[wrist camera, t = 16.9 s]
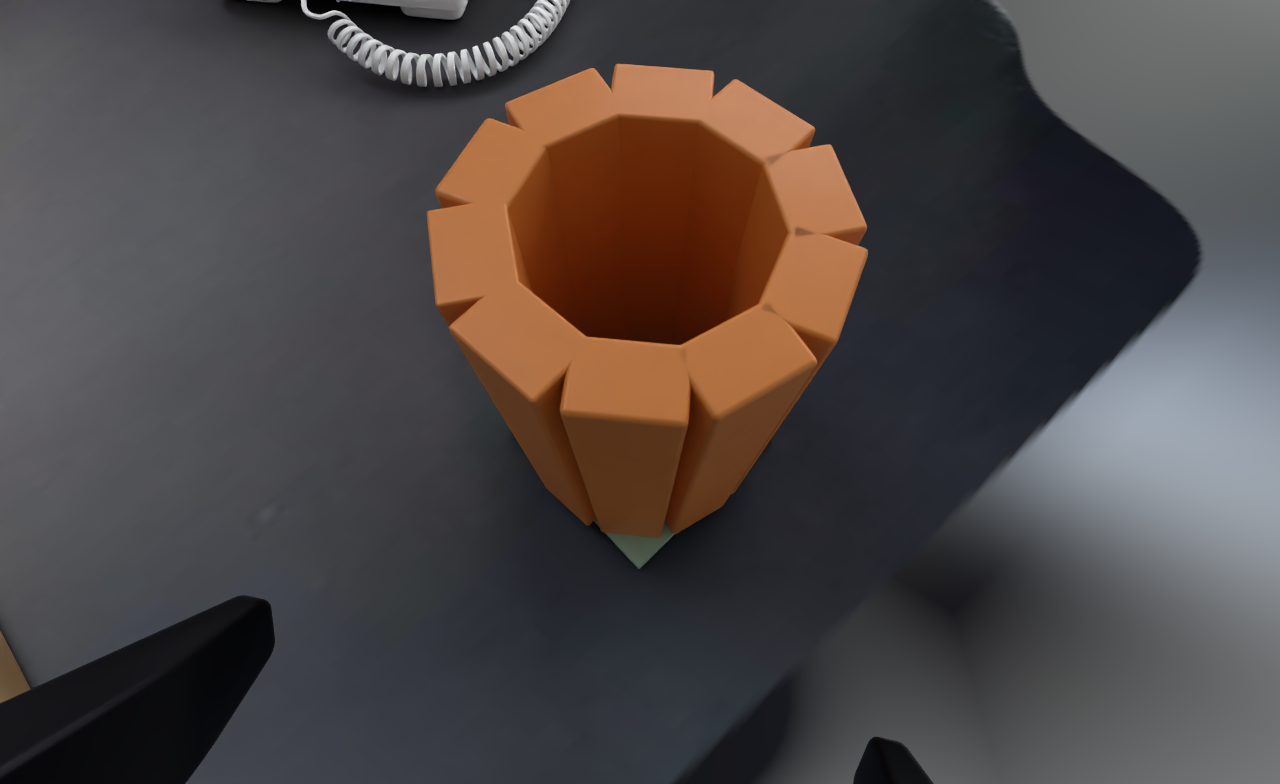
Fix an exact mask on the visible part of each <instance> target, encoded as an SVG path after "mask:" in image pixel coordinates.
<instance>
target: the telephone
mask: <svg viewBox="0 0 1280 784" xmlns="http://www.w3.org/2000/svg"><path fill="white" fill-rule="evenodd" d="M248 1H258V2H270V3H277V2H280V1H282V0H248ZM336 1H337V2H340V1H349V2H360V3H370V4H381V5H391V6H400V7H401V10H402V11H403V13H404V14H406V15H408V16H415V17H425V18H436V19H448V20H455V19H459V18H460V17H461V16H462V15H463V13H464V11H465V8H466V5H467V3H468V0H336ZM551 1H552V2H553V3H554V4H555V6H553V5H551V4H550V3H549V2H548V1H547V0H538V1H537V2H536V3H535V5H534V7H533V8H532V9H531V10H530V11H529V13H527V14H526V15H525V17H524V19H521V20H520V21H519V22H518V24H517V25H518V26H516V25H514V26H513V27H512V28H510V33H509V32H507V31H506V32H504V33H503V34H502V41H503V43H504V44H503V43H502V41H501V40H500V38H498V37H496V38H494V39H493V45H494V47H495V49H496V51H497V53H498V55H499V56H500V58H501V59H502V66H501V65H500V64H499V63H498V62H497V60H496V59H495V56H494V53H493V50H492V48H491V46H490V44H489V42H485V43H483V47H484V49H485V52H486V54H487V56H488V59H489V64H490V69H489V67H488V66H487V64H486V63H485V61H484V59H483V57H482V55H481V53H480V51H479V48H478V46H474V47H472V49H473V53H474V58H475V62H476V67H475V65H474V63H473V61H472V59H471V57H470V55H469V53H468V51H467V49H464V50H461V61H460V59H459V57H458V55H457V54H456V53H455V52H449V53H448V55H447V58H446V57H445V55H444V54H442V53H440V54H435V55H434V58H433V57H432V56H431V55H429V54H422V55H421V56H419V55H418V54H416V53H408V54H407V53H406V52H404V51H402V50H399V49H396V50H394V48H392V47H390V46H388V45H383V43H381V42H380V41H378V40H376V39H373V38H372V37H371V36H369V35H368V34H366V33H364V32H363V31H362V30H361V29H360V28H358V27H357V26H356V24H354V22H352V21H351V20H350V19H349V18H348V17H347V16H346V15H345V14H344V13H342V12H340V11H336V10H332V11H329V12H327V13H324V14H321V15H319V14H314V13H311V12H310V11H309V10H308V9H307V5H306V0H301V7H302V10H303V12H304V13H305V14H306V15H307V16H309V17H311V18H314V19H319V20H321V19H326V18H328V17H331V16H333V15H338V16H341V17H343V18H345V19H341V20H338V21H336V22H334V23H333V24H332V25H331V26H330V28H329V31H328V38H329V39H330V41H331V42H332V43H333V44H335V45H337V47H338V49H339V50H341V51H342V52H343V53H347V56H348V57H349V58H351V59H352V60H353V61H359V64H360V65H361V66H363V67H364V68H366V69H367V68H370V67H371V70H372V72H374V73H376V74H378V75H382V74H383V73H384V71H385V75H386V78H388V79H390V80H393V81H395V80H396V79H397V77H398V73H399V60H398V56H399V55H400V54H401V55H402V57H403V61H402V65H401V71H400V77H401V82H402V83H403V84H408V85H410V84H411V82H412V66H411V60H412V58H414V59H415V61H416V63H417V69H416V79H417V84H418V86H420V87H426V86H427V77H426V71H425V63H426V59H427V60H428V62H429V64H430V67H431V70H432V73H433V81H434V86H435V87H442V86H443V84H442V79H441V73H440V60H441V62H442V63H443V66H444V68H445V71H446V73H447V76H448V80H449V83H450V86H454V85H457V80H456V72H455V64H456V66H457V69H458V71H459V73H460V76H461V78H462V81H463V83H465V84H466V83H470V82H471V75H470V70H471V72H472V74H473V76H474V77H475V79H476V80H482V79H484V72H485V73H486V74H487V75H488V76H493V75H496V73H497V70H498V71H500V72H503V71H504V70H507V68H508V66H514V65H516V64H517V63H518V62H519V60H523V59H525V58H526V57H528V55H529V53H530V54H531V53H533V52H534V51H535V50H536V49H537V48H538V46H540V45H542V44H543V43H544V42H545V40H546V39H547V38H548V37H549V36H550V35H551V33H552V32H553V31H554V30H555V28H556V27H557V25H558V24H559V22H560V20H561V19H562V17H563V15H564V13H565V11H566V8H567V7H568V5H569V3H570V0H551ZM561 5H563V6H561ZM537 6H538V7H537ZM543 6H544V7H546V8H547V9H548V10H549V11H550V13H549V12H548V11H546V10H545V9H544V7H543ZM533 12H534V13H533ZM556 12H558V14H557V13H556ZM539 13H540V14H541V15H542V16H543V17H544V18H542V17H541V15H540V14H539ZM528 18H530V21H531V23H532V24H531V23H530V22H529V21H528ZM551 19H553V22H551ZM344 24H348V27H346V28H344V29H343V30H342V31H341V32H340V33H339V35H338V37H337V40H334V39H333V35H334V32H335V31H336V29H337V28H338V27H340V26H342V25H344ZM522 24H523V25H524V26H526V28H527V30H528V31H529V33H530V34H531V36H532V38H530V37H529V36H528V35H527V34H526V32H525V31H524V28H523V25H522ZM544 25H546V26H548V28H545V26H544ZM534 27H535V28H536V29H537V30H538V31H540V32H541V33H542V35H540V34H538V33H537V32H536V30H535V28H534ZM354 31H355V35H354V36H353V37H352V38H351V39H350V37H351V34H352V32H354ZM359 32H360V33H359ZM515 32H516V33H517V34H518V36H519V37H520V39H521V41H522V43H521V42H520V41H519V39H518V38H517V36H516V33H515ZM367 38H368V39H369V40H368V41H367ZM349 39H350V41H349V43H348V45H347V47H344V48H342V45H343V44H345V43H346V42H347V41H348V40H349ZM361 39H362V44H361V47H360V49H359V51H358V52H357V53H356V54H355V55H353V50H354V48H355V47H356V46H357V44H358V42H359V41H360V40H361ZM539 39H540V40H541V41H539ZM376 44H378V45H379V48H378V49H376ZM529 44H530V45H533V48H530V47H529ZM504 45H505V46H504ZM505 47H506V49H507V50H508V52H509V53H510V54H511V55H512V56H513V57H514V59H513V61H511V60H510V59H509V58H508V55H507V52H506V49H505ZM370 48H371V51H370V55H369V57H368V59H367V60H366V62H365V58H366V54H367V52H368V50H369V49H370ZM518 48H519V49H520V50H522V51H523V52H524V54H523V55H521V54H519V49H518ZM533 49H534V50H533ZM387 50H389V51H390V53H391V54H390V55H389V57H388V59H387V52H386V51H387ZM380 59H381V60H380ZM379 61H380V64H379ZM454 62H455V63H454ZM476 68H477V69H476Z"/></svg>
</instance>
